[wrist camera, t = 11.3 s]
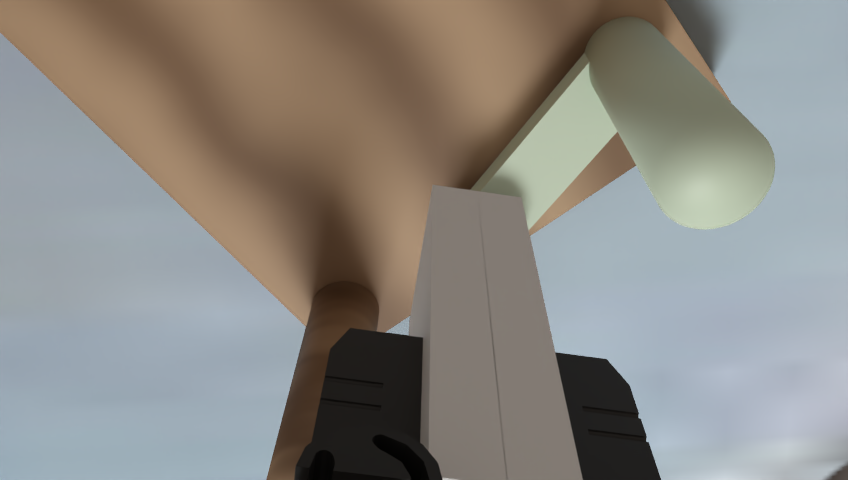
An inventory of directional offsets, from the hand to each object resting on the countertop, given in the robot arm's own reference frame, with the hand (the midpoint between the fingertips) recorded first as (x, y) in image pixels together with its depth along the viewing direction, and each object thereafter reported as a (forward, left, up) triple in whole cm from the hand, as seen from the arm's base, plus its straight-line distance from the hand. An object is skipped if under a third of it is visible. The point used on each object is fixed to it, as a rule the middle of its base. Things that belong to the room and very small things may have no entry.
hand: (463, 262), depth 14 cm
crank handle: (+1, -6, -18) cm, 19 cm away
